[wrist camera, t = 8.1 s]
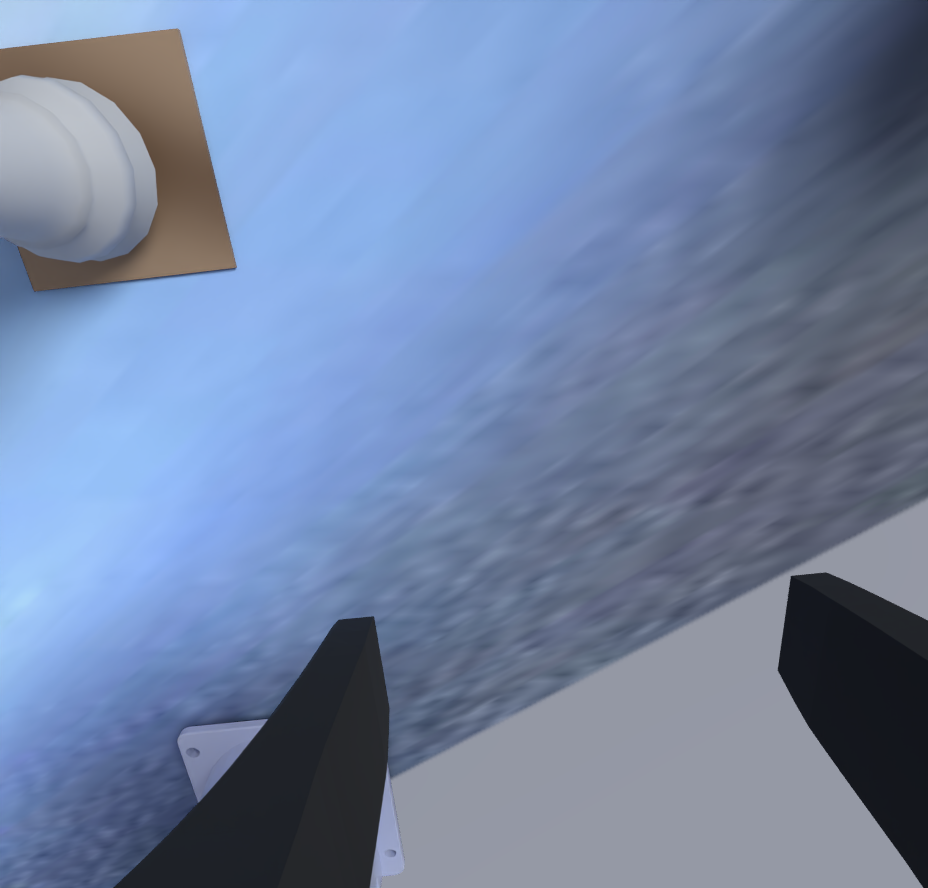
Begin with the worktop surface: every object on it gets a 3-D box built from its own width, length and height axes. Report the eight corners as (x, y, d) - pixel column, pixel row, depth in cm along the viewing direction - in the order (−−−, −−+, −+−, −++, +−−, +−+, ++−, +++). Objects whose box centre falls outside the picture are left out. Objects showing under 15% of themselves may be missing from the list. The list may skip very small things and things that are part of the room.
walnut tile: (241, 265, 18) (235, 267, 18) (46, 288, 18) (34, 291, 18) (186, 34, 16) (177, 28, 15) (-37, 60, 16) (-54, 54, 15)
